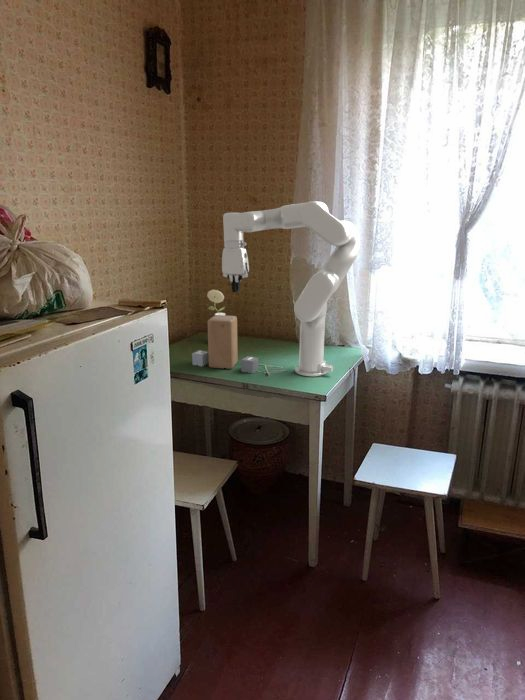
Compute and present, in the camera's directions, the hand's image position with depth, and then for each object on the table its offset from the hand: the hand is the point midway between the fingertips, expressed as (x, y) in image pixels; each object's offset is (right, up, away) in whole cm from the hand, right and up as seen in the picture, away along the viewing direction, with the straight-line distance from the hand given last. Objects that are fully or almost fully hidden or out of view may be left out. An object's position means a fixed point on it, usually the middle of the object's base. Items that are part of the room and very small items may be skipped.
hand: (236, 291), depth 209 cm
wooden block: (-5, -30, +6) cm, 31 cm away
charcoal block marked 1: (+6, -32, -1) cm, 32 cm away
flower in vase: (-10, -20, +39) cm, 45 cm away
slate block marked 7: (-15, -29, +7) cm, 34 cm away
